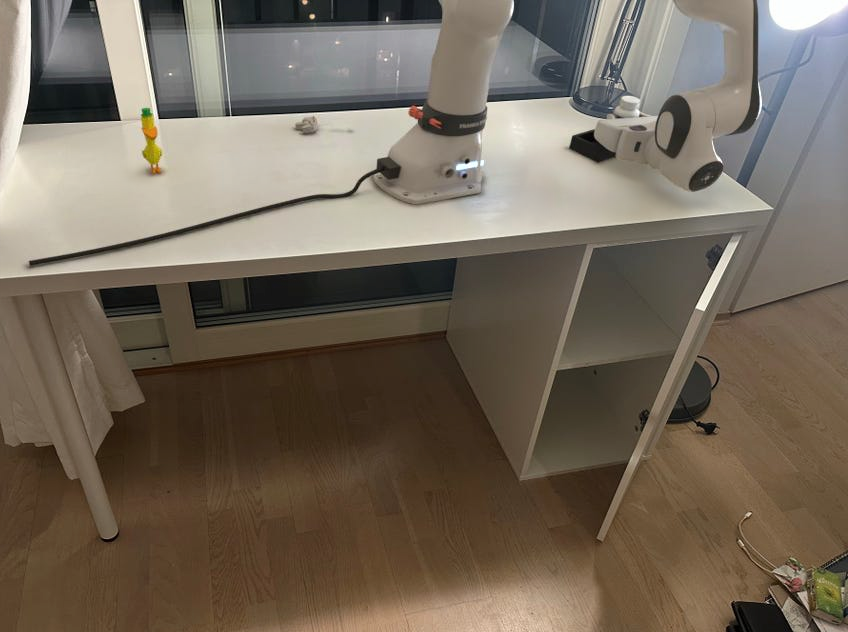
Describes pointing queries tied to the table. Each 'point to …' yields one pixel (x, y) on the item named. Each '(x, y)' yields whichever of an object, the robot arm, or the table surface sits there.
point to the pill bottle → (627, 107)
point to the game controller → (308, 124)
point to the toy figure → (150, 140)
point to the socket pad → (590, 147)
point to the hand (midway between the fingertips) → (622, 116)
